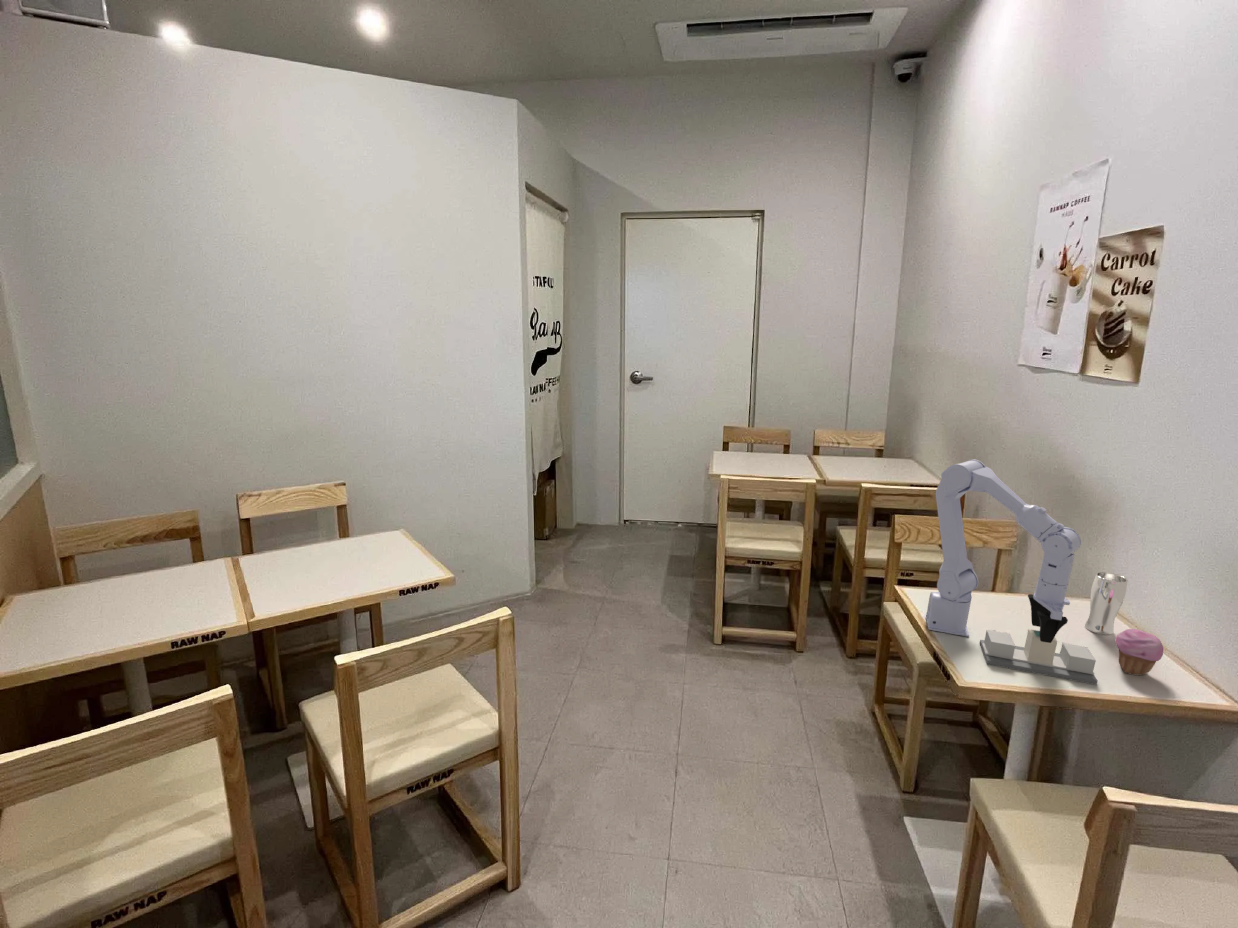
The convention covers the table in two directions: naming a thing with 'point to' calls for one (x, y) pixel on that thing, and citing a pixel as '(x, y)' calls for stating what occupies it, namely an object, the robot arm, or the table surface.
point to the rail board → (1065, 665)
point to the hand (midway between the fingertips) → (1041, 633)
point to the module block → (1039, 648)
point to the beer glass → (1105, 602)
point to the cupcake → (1138, 651)
